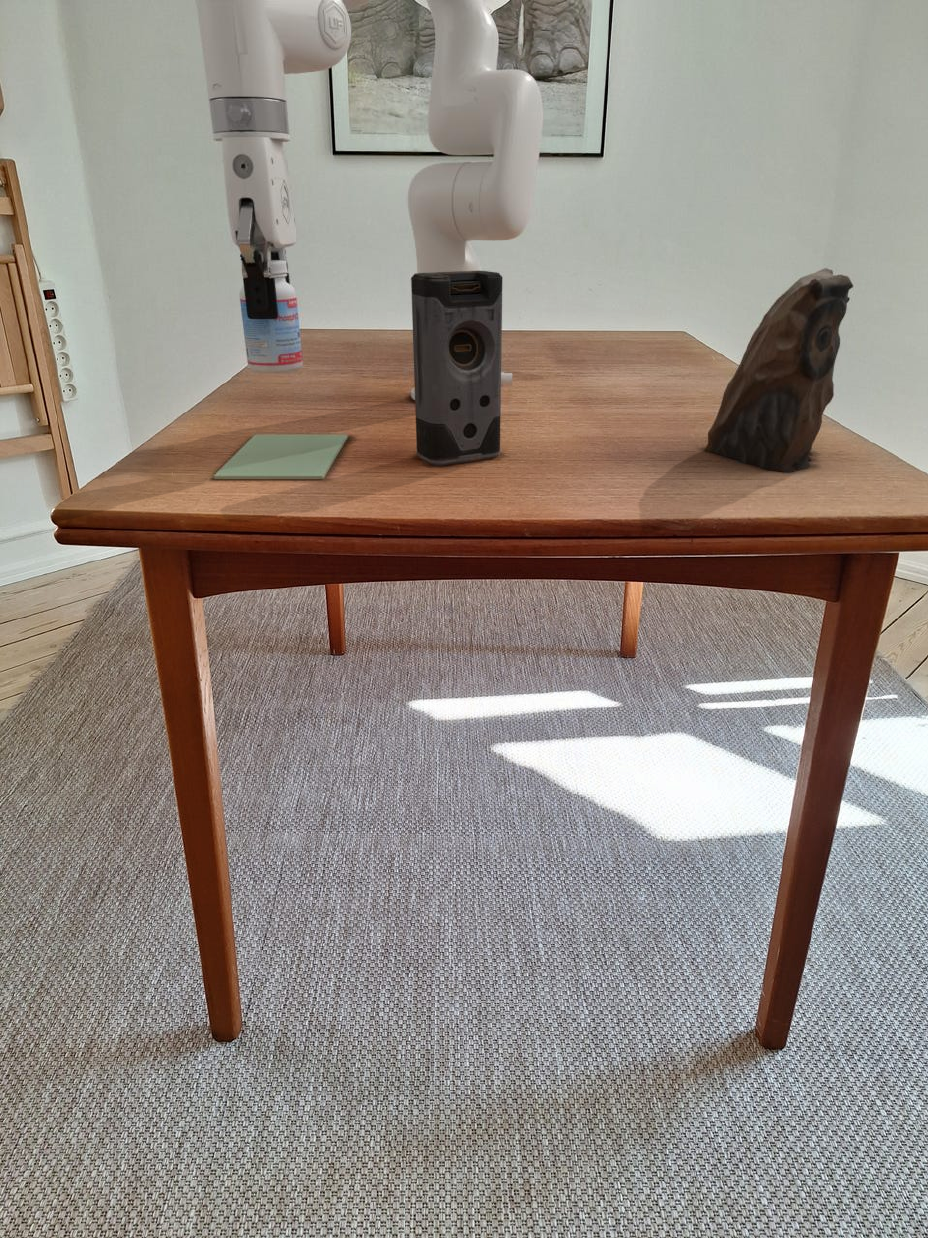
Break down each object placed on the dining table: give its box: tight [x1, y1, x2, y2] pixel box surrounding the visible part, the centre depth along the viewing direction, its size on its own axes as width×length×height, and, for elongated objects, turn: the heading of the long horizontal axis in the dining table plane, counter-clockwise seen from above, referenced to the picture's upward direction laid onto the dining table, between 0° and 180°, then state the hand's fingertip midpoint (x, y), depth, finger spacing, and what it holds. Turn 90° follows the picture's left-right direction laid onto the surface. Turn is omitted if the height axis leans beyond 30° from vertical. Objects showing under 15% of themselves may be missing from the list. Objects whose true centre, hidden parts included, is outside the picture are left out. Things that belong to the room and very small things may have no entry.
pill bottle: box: [239, 260, 304, 374], centre depth 89 cm, size 6×6×11 cm
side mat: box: [213, 433, 349, 480], centre depth 96 cm, size 12×18×1 cm, turn 179°
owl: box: [704, 267, 854, 473], centre depth 90 cm, size 13×13×20 cm
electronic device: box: [410, 270, 503, 467], centre depth 91 cm, size 9×6×20 cm, turn 117°
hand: (270, 313), depth 89 cm, fingers closed on pill bottle, 6 cm apart
